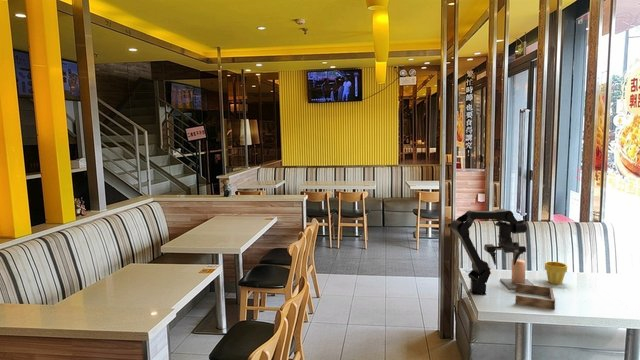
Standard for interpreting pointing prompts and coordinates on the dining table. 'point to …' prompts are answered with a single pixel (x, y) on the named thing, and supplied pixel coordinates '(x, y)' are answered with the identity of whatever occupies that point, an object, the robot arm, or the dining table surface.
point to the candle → (518, 272)
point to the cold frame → (532, 300)
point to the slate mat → (512, 286)
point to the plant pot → (555, 271)
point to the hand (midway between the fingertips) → (504, 264)
